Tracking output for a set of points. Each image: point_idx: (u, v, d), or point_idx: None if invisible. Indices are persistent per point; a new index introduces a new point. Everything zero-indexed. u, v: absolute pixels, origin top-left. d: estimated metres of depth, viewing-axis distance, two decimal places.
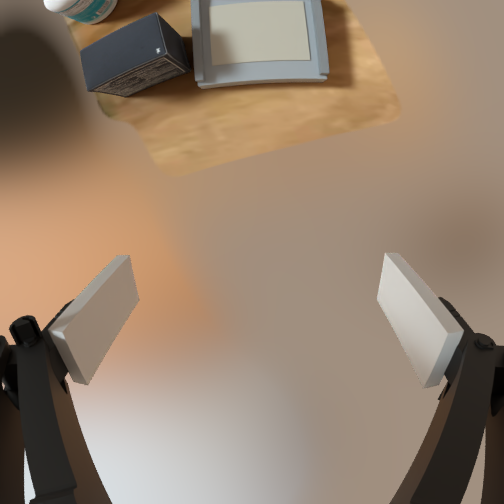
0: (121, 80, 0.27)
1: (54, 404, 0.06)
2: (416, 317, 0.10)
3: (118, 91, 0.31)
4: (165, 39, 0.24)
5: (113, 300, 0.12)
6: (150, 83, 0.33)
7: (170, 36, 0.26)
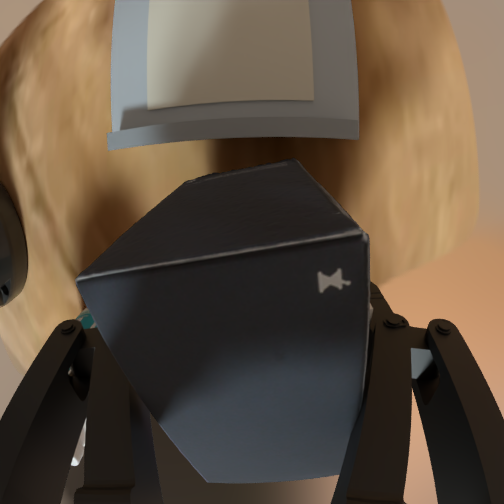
0: None
1: (129, 393, 0.07)
2: None
3: None
4: (248, 232, 0.06)
5: None
6: None
7: (206, 207, 0.08)
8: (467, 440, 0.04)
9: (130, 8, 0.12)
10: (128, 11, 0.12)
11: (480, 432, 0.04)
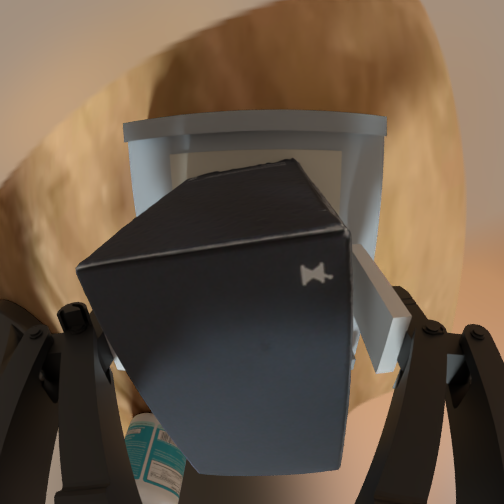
0: None
1: (97, 396, 0.06)
2: (370, 304, 0.11)
3: None
4: (237, 227, 0.06)
5: None
6: None
7: (202, 203, 0.08)
8: (491, 443, 0.04)
9: None
10: None
11: None
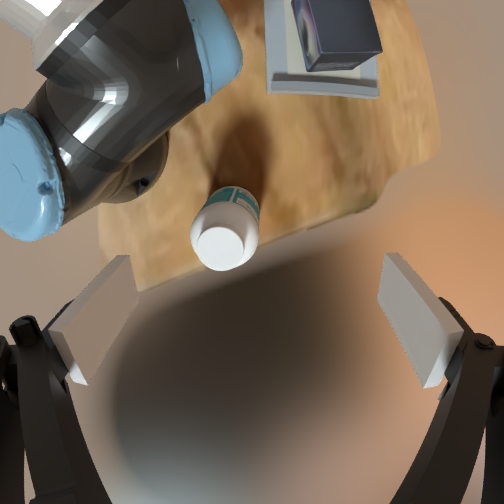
0: None
1: (54, 404, 0.06)
2: (416, 317, 0.10)
3: None
4: None
5: (113, 300, 0.12)
6: None
7: None
8: None
9: (274, 23, 0.28)
10: (273, 25, 0.28)
11: None
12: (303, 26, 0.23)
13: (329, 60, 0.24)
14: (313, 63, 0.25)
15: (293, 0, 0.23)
